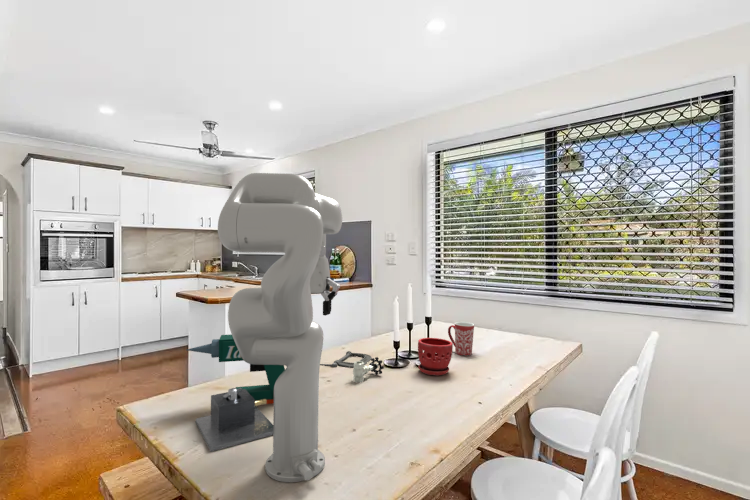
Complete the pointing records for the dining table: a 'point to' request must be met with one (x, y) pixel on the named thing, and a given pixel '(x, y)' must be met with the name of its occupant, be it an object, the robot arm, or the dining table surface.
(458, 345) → the mug
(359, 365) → the valve
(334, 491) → the dining table surface
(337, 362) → the c clamp
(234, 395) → the chuck key
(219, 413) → the block
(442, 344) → the plant pot
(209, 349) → the power tool
